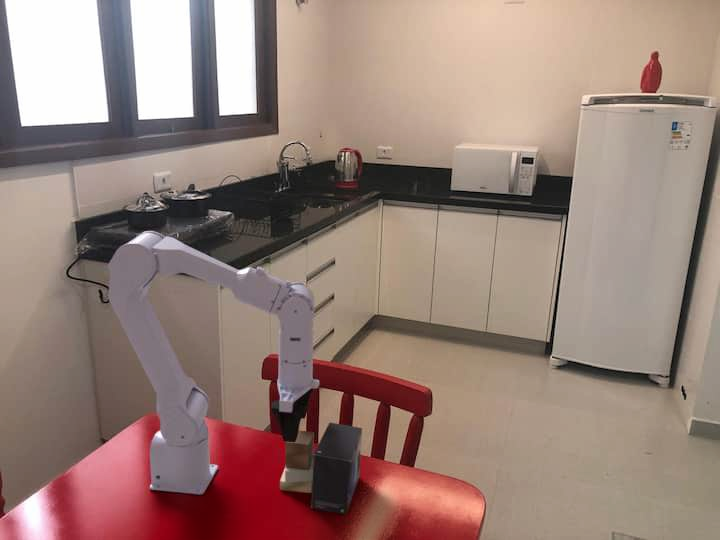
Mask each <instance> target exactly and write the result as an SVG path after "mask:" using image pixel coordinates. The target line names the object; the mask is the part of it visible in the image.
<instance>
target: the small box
mask: <svg viewBox="0 0 720 540" xmlns="http://www.w3.org/2000/svg"><path fill="white" fill-rule="evenodd" d="M362 435H363V428H362V427H359V426H358V427H357V426H354V425H353V426H352V425H346V424H341V423H334V422H329V423H328V425H327V427H326V429H325V431H324V432H323V435H322V436H321V438H320V441H319V442H318V444H317V446H316V448H315V449H314V455H313V485H312V492H311V505H310V508H311V509H312V510H319V511H325V512H330V513H334V514H339V515H345V516H346V515H347V513H348V511H349V508H350V505H351V502H352V501H353V496H354V494H355V491H356V488H357V484H358V482H359V480H360V470H361V451H362Z"/></svg>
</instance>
